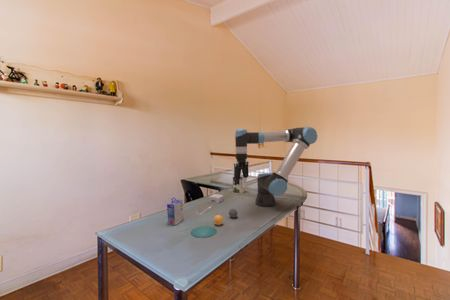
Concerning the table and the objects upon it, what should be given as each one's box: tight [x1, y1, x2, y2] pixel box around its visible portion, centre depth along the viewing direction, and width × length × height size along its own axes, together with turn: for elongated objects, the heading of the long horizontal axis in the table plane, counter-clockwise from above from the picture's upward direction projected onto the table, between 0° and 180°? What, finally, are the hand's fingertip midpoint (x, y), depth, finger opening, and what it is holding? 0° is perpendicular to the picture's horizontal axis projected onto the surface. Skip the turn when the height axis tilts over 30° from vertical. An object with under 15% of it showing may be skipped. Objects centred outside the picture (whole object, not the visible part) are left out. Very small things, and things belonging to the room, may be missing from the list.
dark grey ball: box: [228, 208, 239, 219], centre depth 138 cm, size 6×6×6 cm
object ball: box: [213, 214, 224, 226], centre depth 127 cm, size 6×6×6 cm
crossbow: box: [195, 205, 213, 216], centre depth 151 cm, size 16×13×2 cm
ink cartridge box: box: [166, 197, 184, 226], centre depth 132 cm, size 10×6×14 cm, turn 161°
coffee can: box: [232, 175, 245, 195], centre depth 198 cm, size 10×10×14 cm
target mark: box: [190, 225, 218, 239], centre depth 118 cm, size 14×14×1 cm
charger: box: [207, 193, 225, 204], centre depth 176 cm, size 5×9×15 cm
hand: (241, 188), depth 144 cm, fingers open, 6 cm apart
